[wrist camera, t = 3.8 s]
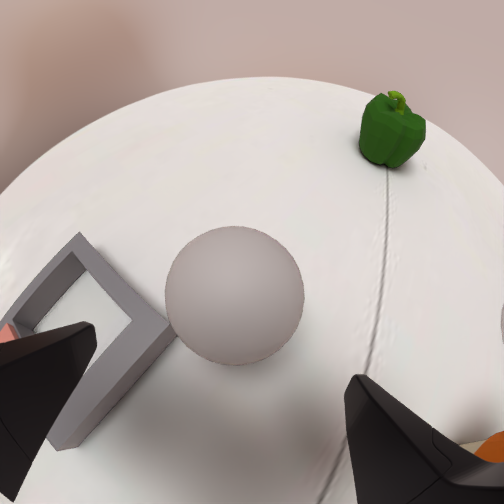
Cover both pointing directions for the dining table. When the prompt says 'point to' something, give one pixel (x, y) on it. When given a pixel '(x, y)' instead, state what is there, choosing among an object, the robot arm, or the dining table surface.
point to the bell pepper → (390, 130)
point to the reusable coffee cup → (488, 448)
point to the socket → (113, 358)
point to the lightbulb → (234, 295)
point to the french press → (502, 322)
